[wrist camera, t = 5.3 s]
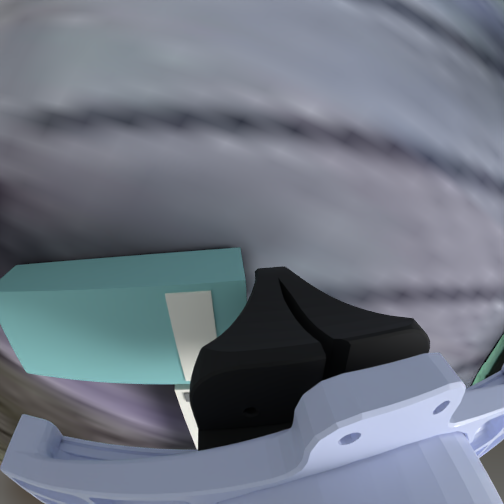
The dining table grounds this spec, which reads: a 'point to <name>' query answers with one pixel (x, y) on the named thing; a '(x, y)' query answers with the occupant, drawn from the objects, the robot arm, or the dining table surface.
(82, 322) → the stub
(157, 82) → the dining table surface
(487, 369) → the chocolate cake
